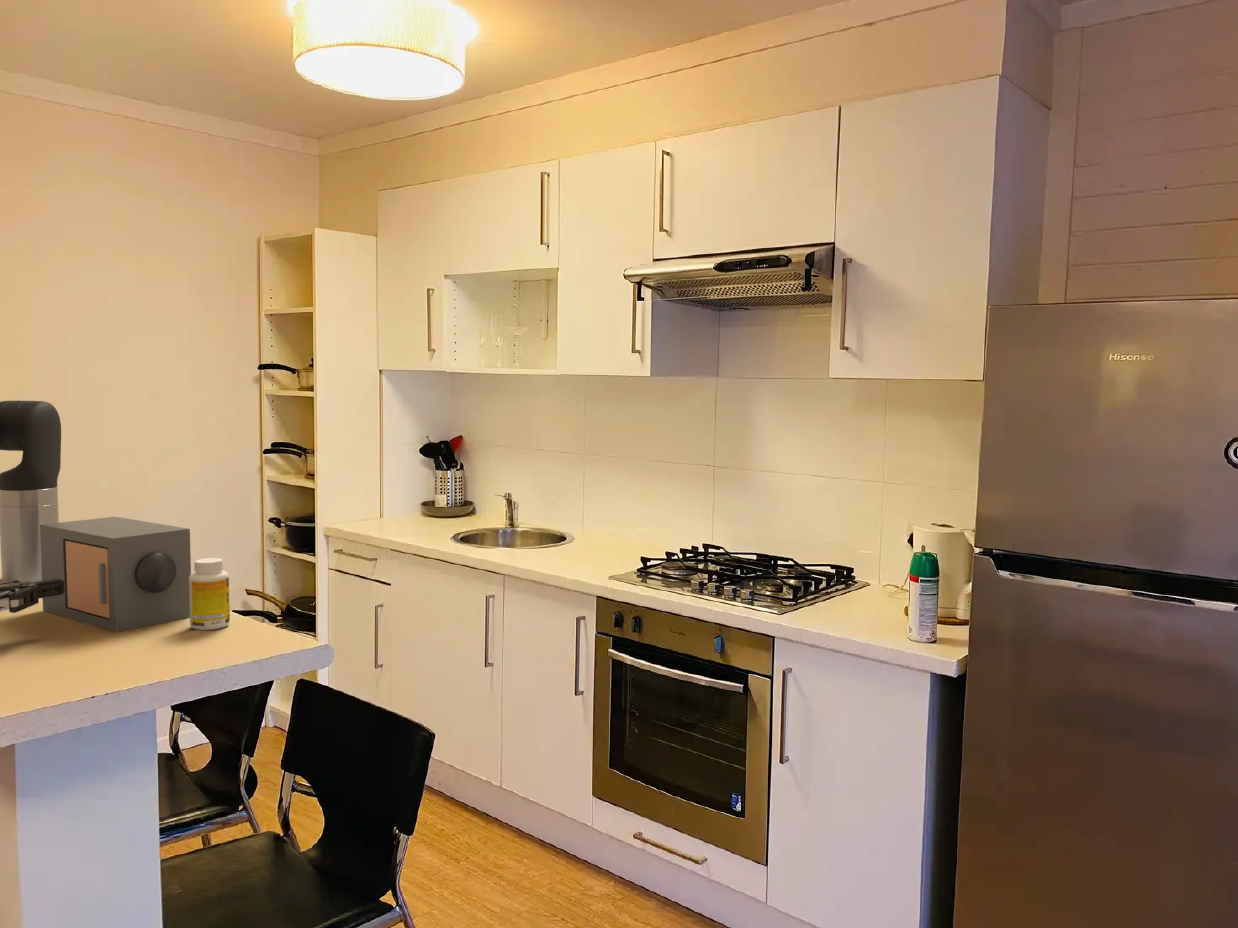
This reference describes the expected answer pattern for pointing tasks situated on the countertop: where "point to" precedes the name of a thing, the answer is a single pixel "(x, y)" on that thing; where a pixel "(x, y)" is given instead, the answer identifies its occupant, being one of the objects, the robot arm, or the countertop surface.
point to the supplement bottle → (209, 595)
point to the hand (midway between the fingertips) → (61, 586)
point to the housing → (124, 570)
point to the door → (88, 578)
